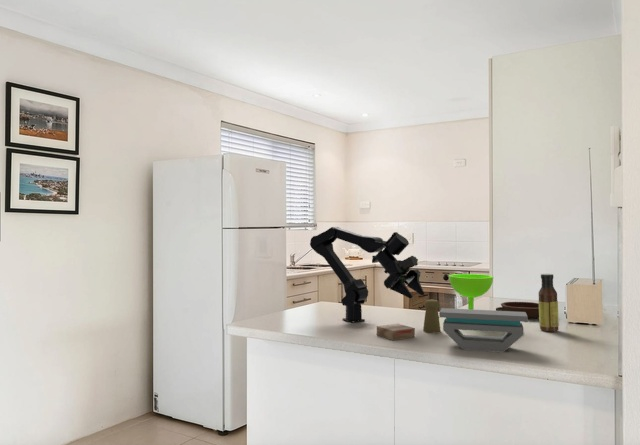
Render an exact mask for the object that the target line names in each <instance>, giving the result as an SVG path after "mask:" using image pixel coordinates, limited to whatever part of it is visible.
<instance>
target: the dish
mask: <svg viewBox="0 0 640 445" xmlns="http://www.w3.org/2000/svg"><path fill="white" fill-rule="evenodd" d="M495 311H515V312H526V314H527V316H528V320H533V319H534V320H535V319H539V302H532V301H530V302H529V301H505V302H501V303H500V306H499V307H496V308H495Z"/></svg>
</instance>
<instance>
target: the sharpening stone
mask: <svg viewBox="0 0 640 445" xmlns="http://www.w3.org/2000/svg"><path fill="white" fill-rule="evenodd" d="M438 315H439V318H444V320H443V323H442V326H443V328H442V330H443V332H444V333H445V334H446V335H447V336H448V337H450V339H451V340H452V341H453V342H454V343H455V344H456V345H457V346H458V347H459V348H460V349H461V350H465V351H477V352H478V351H481V352H492V351H495V352H494V353H504V352H505V351H506V350H508V349H509V348H510V347H512V346H513V344H515V343H516V341H518V340H519V339H521V338H522V337H524V325H523V323H522V322H525V323H526V322H527V323H528V320H529V319H528V316H527V314H526V312H515V311H496V310H490V309H474V310H471V309H468V308H465V309H464V308H451V307H450V308H447V307H446V308H445V307H441V308H440V310H439V311H438ZM462 330H463V331H477V332H494V333H495V332H496V333H505V334H503V335H502V336H491V335H490V336H488V335H474V334H463V332H462Z"/></svg>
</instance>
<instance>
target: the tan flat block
mask: <svg viewBox="0 0 640 445" xmlns="http://www.w3.org/2000/svg"><path fill="white" fill-rule="evenodd" d="M415 330H416V329H415V327H412V326H408V325H406V324H405V325H404V324H401V323H393V324H392V323H391V324H384V325H377V326H376V335H377V336H378V337H381V338H382V337H383V338H384V339H389V340H392V341H397V340H404V339H411V338H415V337H416V334H415V333H416V332H415Z"/></svg>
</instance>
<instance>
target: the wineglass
mask: <svg viewBox="0 0 640 445" xmlns="http://www.w3.org/2000/svg"><path fill="white" fill-rule="evenodd" d="M448 278H449V283H450V286H451V287H452V289H453V290H454V291H455V292H456V293H457V294H459V295H461V296H462V297H465V298H467V304H468V306H467V307H468V308H467V309H471V310H475V309H474V303H475V302H474V298H478V297H481V296H483V295H485V294H486V293H487V292H488V291H489V290H490V289H491V286H492V285H493V283H494V282H493V281H494V276H493V275H489V274H481V273H479V274H477V273H456V274H449V275H448Z"/></svg>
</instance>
